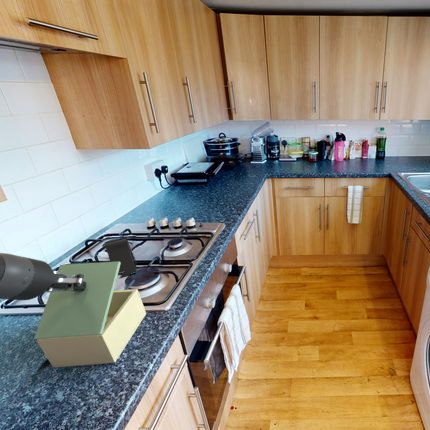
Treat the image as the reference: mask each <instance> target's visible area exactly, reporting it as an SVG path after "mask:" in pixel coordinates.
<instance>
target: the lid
mask: <svg viewBox="0 0 430 430" xmlns="http://www.w3.org/2000/svg"><path fill="white" fill-rule="evenodd" d="M120 264H121V262H110V261H104V262H103V261H102V262H86V263H85V262H83V263H67V264H65V263H64V264H60V265H59V267H58V270H57V271H58V272H61V274H66V275H70V278H73V276H74V275H78V274H82V275H84V277H83V281H84V282H86V288H85V290H84V291H79V292H75V291H65V292H49V296H48V298H47V301H46V303H45V306H44V309H43V311H42V314H41V318H40V320H39V324H38V326H37V329H36V332H35V333H34V334H35V335H34V337H33V338H34V340H38V339H44V338H58V337H72V336H86V335H100V334H103V330H104V326H105V322H106V318H107V315H108V311H109V307H110V303H111V299H112V295H113V291H115V287H116V284H117V279H118V276H119V273H118V272H119V268H120Z"/></svg>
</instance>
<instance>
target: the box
mask: <svg viewBox="0 0 430 430" xmlns="http://www.w3.org/2000/svg"><path fill="white" fill-rule="evenodd" d="M146 315H147V311H146V309H145V306H144V303H143V301H142V297H141V295H140V292H139V290H138V289H137V288H134V289H117V290H114V291H113V295H112V299H111V303H110V307H109V311H108V315H107V318H106V322H105V326H104V330H103V334H100V335H86V336H72V337H58V338H44V339H36V342H37V344H38V345H39V347H40V349H41V350H42V352H43V354H44V355H45V357H46V358H47V360H48V362H49V363H50V365H51V366H52V368H53V369H54V368H66V367H80V366H92V365H93V366H94V365H103V364H105V365H107V364H115V363H116V362H117V361H118V359H119V358H120V356H121V354H122V353H123V352H124V349H125V348H126V346H127V345H128V344H129V342H130V340H131V338H132V337H133V336H134V334H135V332H136V331H137V329H138V328H139V327H140V324H141V323H142V321H143V320H144V318H146V317H145V316H146Z"/></svg>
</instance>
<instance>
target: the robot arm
mask: <svg viewBox="0 0 430 430" xmlns="http://www.w3.org/2000/svg"><path fill="white" fill-rule="evenodd" d="M83 277H84V275H82V274H78V275H74V276H73V278H70V275H66V274H61V272H58V270H57V271H56V270H53V268H52V267H51V265H50V264H49V263H47V261H45V260H40V259H35V258H31V257H26V256H21V255H17V254H11V253H6V252H0V300H9V301H10V300H11V301H30V300H33V299H35V298H38V297H40V296H41V295H42V294H44V293H50V292H65V291H75V292H79V291H84V290H85V288H86V282H84V281H83Z"/></svg>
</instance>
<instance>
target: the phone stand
mask: <svg viewBox="0 0 430 430" xmlns="http://www.w3.org/2000/svg"><path fill="white" fill-rule="evenodd" d="M104 247H105V250H106V253H107V256H108V259H109V262H121V264H120V268H119V272H118V274H121V275H120V276H119V279H122V278H125V277H130V276H131V275H130V274H131V273H133V272H137V260H136V258H135V255H134V252H133V250H132V247H131V245H130V243H129V240H128V237H127V236H126V237H122V238H117V239H113V240H108V241H104ZM129 275H130V276H129Z"/></svg>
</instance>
